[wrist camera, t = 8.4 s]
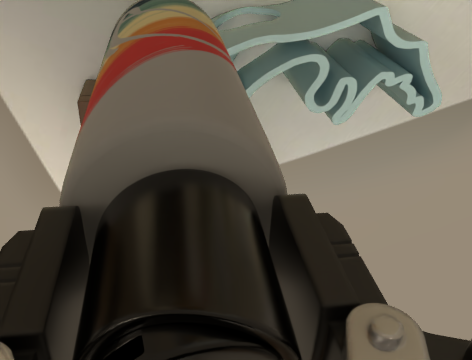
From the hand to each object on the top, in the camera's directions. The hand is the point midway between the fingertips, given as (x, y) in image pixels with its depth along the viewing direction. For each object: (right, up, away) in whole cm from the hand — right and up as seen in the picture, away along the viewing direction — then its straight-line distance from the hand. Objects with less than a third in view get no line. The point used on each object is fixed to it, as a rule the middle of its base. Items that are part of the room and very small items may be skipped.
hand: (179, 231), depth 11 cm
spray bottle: (-2, +8, +13) cm, 16 cm away
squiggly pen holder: (+6, +13, +30) cm, 34 cm away
